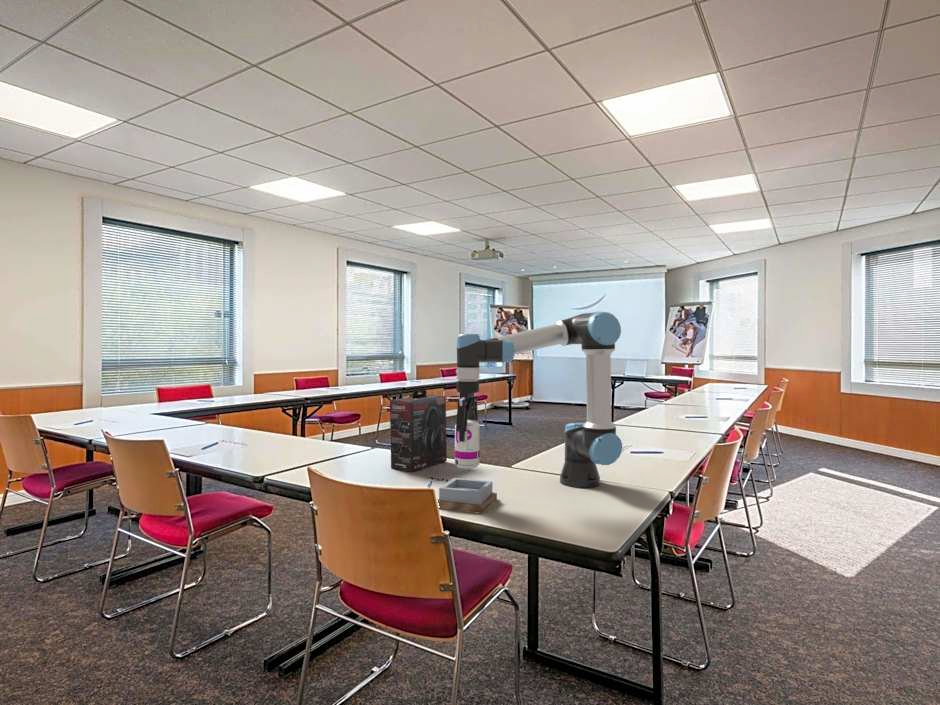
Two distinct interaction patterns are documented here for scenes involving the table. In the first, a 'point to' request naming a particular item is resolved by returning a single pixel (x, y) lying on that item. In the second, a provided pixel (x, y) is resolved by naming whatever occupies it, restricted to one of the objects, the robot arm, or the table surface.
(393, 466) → the headset box
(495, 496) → the walnut slab
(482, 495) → the grey rimmed block
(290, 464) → the table surface
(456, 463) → the supplement can
